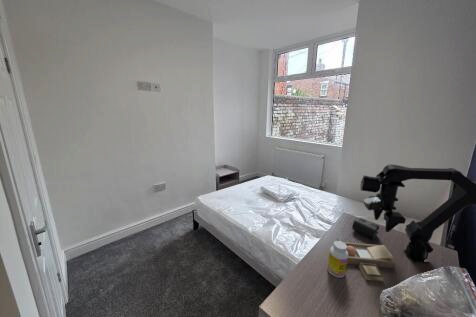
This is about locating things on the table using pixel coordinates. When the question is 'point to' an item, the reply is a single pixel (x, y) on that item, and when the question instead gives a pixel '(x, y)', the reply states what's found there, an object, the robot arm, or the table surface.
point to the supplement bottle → (338, 259)
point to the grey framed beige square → (371, 272)
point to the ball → (351, 251)
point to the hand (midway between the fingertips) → (381, 225)
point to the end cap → (365, 228)
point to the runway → (371, 255)
